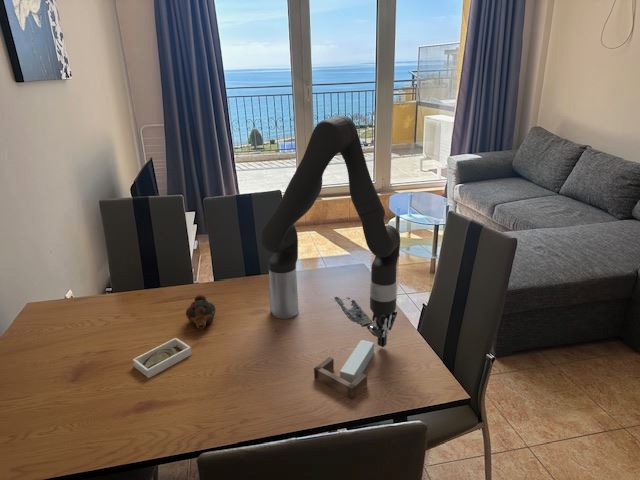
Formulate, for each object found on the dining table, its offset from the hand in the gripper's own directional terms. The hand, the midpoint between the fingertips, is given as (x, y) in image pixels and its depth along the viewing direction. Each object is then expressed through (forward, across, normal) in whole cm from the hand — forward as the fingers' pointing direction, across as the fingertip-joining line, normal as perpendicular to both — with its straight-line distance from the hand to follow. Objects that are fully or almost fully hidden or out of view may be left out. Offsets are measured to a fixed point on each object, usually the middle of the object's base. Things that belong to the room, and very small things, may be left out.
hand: (382, 345), depth 134 cm
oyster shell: (+1, -47, +46) cm, 66 cm away
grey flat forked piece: (+2, +12, +20) cm, 24 cm away
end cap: (+1, -19, 0) cm, 19 cm away
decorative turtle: (+1, -25, +56) cm, 61 cm away
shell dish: (+1, -45, +47) cm, 65 cm away
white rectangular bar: (+1, -12, 0) cm, 12 cm away
